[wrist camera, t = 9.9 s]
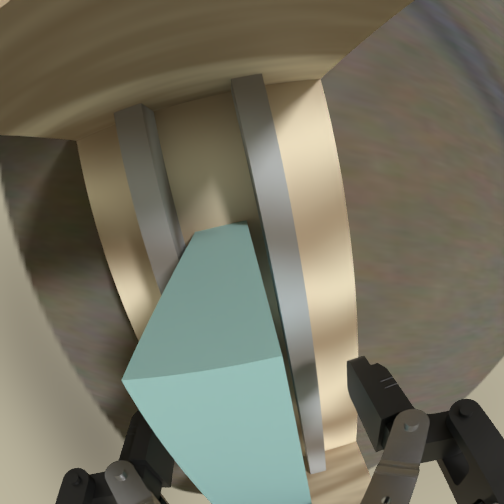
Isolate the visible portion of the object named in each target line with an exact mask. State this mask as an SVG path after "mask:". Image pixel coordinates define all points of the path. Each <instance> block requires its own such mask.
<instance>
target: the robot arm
mask: <svg viewBox="0 0 504 504" xmlns="http://www.w3.org/2000/svg"><path fill="white" fill-rule="evenodd" d="M347 388H348V392H349V396H350V398H351V400H352V402H353V405H354V407H355V409H356V411H357V413H358V415H359V417H360V419H361V421H362V424H363V426H364V428H365V430H366V432H367V434H368V436H369V439H370V441H371V443H372V445H373V447H374V449H375V451H376V452H378V451H380V450H384V452H383V455H382V457H381V460H380V462H379V464H378V465H377V467H376V469H375V472H374V474H373V476H372V479H371V481H370V483H369V486H368V488H367V490H366V492H365V494H364V497H363V499H362V501H361V503H360V504H409V502H410V499H411V496H412V493H413V490H414V487H415V484H416V481H417V478H418V474H419V466H420V463H423V462H429V461H434V460H437V462H438V464H439V466H440V468H441V470H442V472H443V474H444V477H445V479H446V481H447V483H448V485H449V487H450V489H451V491H452V493H453V495H454V498H455V500H456V502H457V504H504V439H503V437H502V436H501V434H500V433H499V431H498V430H497V429H496V427H495V426H494V424H493V423H492V422H491V420H490V419H489V417H488V416H487V415H486V414H485V412H484V411H483V409H482V408H481V407H480V405H479V404H478V403H477V402H475V401H474V400H471V399H462V400H459V401H457V402H455V403H454V404H453V405H452V406H451V408H450V411H446V412H441V413H436V414H426V413H425V412H423V411H421V410H418V409H415V408H414V407H413V406H412V404H411V403H410V401H409V400H408V398H407V397H406V396H405V394H404V393H403V391H402V390H401V388H400V387H399V385H398V384H397V382H396V381H395V380H394V378H393V377H392V375H391V374H390V372H389V371H388V369H387V368H385V367H383V366H382V365H380V364H378V363H376V364H373V365H370V364H369V362H368V361H367V359H366V358H365V356H361V357H358V358H355V359H351V360H348V361H347ZM129 427H130V428H129V429H128V432H127V435H126V438H125V441H124V445H123V448H122V451H121V455H120V458H119V461H116V462H113V463H112V464H110V465H109V466H108V467H107V469H106V471H105V472H101V473H96V474H91V475H89V474H88V473H87V472H86V471H85V470H83V469H81V468H74V469H71V470H70V471H68V472H67V473H66V474H65V476H64V478H63V481H62V484H61V487H60V490H59V494H58V497H57V501H56V504H169V503H168V502H167V501H166V499H165V498H164V497H163V495H162V494H161V488H162V487H171V481H172V473H173V466H174V459H173V457H172V456H171V455H170V454H169V452H168V451H167V450H166V448H165V447H164V445H163V444H162V443H161V441H160V440H159V439H158V437H157V436H156V434H155V433H154V431H153V430H152V429H151V427H150V426H149V424H148V423H147V421H146V420H145V418H144V417H143V415H142V414H141V412H140V410H139V409H138V411H137V412H136V413H135V414H134V416H133V417H132V419H131V422H130V425H129Z"/></svg>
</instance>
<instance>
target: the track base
mask: <svg viewBox="0 0 504 504" xmlns="http://www.w3.org/2000/svg"><path fill="white" fill-rule="evenodd" d="M413 1H414V0H0V135H11V136H28V137H42V138H54V139H64V140H74V141H77V146H78V152H79V157H80V162H81V167H82V171H83V176H84V180H85V185H86V189H87V193H88V197H89V201H90V205H91V209H92V212H93V216H94V220H95V223H96V227H97V230H98V234H99V237H100V240H101V243H102V247H103V250H104V253H105V256H106V259H107V262H108V265H109V268H110V271H111V273H112V276H113V279H114V282H115V284H116V287H117V290H118V292H119V295H120V298H121V300H122V303H123V305H124V308H125V310H126V313H127V315H128V318H129V320H130V322H131V325H132V327H133V329H134V332H135V334H136V336H137V338H138V341H140V338H141V336H142V334H143V332H144V330H145V328H146V326H147V324H148V322H149V320H150V318H151V316H152V314H153V312H154V310H155V308H156V306H157V304H158V302H159V300H160V298H161V296H162V294H163V292H164V290H165V288H166V286H167V284H168V282H169V280H170V278H171V276H172V274H173V272H174V270H175V268H176V267H177V265H178V263H179V261H180V259H181V257H182V255H183V253H184V252H185V250H186V248H187V246H188V244H189V242H190V241H191V239H192V237H193V235H194V233H195V232H197V231H202V230H206V229H210V228H214V227H219V226H223V225H227V224H232V223H236V222H241V221H245V220H246V221H247V225H248V228H249V232H250V236H251V240H252V243H253V247H254V251H255V255H256V258H257V262H258V266H259V270H260V273H261V277H262V281H263V285H264V288H265V292H266V296H267V300H268V303H269V307H270V311H271V315H272V319H273V322H274V326H275V330H276V334H277V338H278V341H279V345H280V349H281V353H282V357H283V362H284V366H285V371H286V376H287V381H288V386H289V391H290V396H291V401H292V406H293V411H294V416H295V421H296V426H297V431H298V436H299V441H300V446H301V451H302V456H303V461H304V466H305V471H306V476H307V481H308V486H309V491H310V497H311V502H312V504H360V503H361V501H362V499H363V497H364V494H365V492H366V490H367V488H368V486H369V483H370V481H371V476H370V474H369V472H368V469H367V467H366V464H365V462H364V459H363V457H362V455H361V452H360V450H359V447H358V445H357V443H356V433H357V411H356V409H355V407H354V405H353V402H352V400H351V398H350V396H349V392H348V388H347V361H348V360H351V359H355V358H358V331H357V309H356V293H355V280H354V269H353V258H352V248H351V239H350V231H349V223H348V216H347V208H346V202H345V195H344V189H343V182H342V177H341V171H340V165H339V160H338V154H337V149H336V144H335V139H334V134H333V130H332V125H331V120H330V116H329V112H328V107H327V103H326V99H325V95H324V91H323V87H322V83H321V78H322V77H323V76H324V75H325V74H326V73H327V72H328V71H329V70H331V69H332V68H333V67H334V66H335V65H336V64H337V63H338V62H339V61H341V60H342V59H343V58H344V57H345V56H346V55H347V54H348V53H350V52H351V51H352V50H353V49H354V48H355V47H357V46H358V45H359V44H360V43H361V42H362V41H364V40H365V39H366V38H367V37H368V36H370V35H371V34H372V33H373V32H374V31H376V30H377V29H378V28H379V27H381V26H382V25H383V24H384V23H386V22H387V21H388V20H389V19H391V18H392V17H393V16H394V15H396V14H397V13H398V12H400V11H401V10H402V9H403V8H405V7H406V6H407V5H409V4H410V3H411V2H413ZM211 504H212V503H211Z"/></svg>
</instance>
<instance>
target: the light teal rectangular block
mask: <svg viewBox="0 0 504 504" xmlns="http://www.w3.org/2000/svg"><path fill="white" fill-rule="evenodd" d="M121 381H122V382H123V384H124V386H125V388H126V389H127V391H128V393H129V394H130V396H131V398H132V399H133V401H134V402H135V404H136V406H137V407H138V409H139V410H140V412H141V414H142V415H143V417H144V418H145V420H146V421H147V423H148V424H149V426H150V427H151V429H152V430H153V431H154V433H155V434H156V436H157V437H158V439H159V440H160V441H161V443H162V444H163V445H164V447H165V448H166V450H167V451H168V452H169V454H170V455H171V456H172V457H173V459H174V460H175V461H176V463H177V464H178V465H179V466H180V468H181V469H182V470H183V471H184V473H185V474H186V475H187V476H188V477H189V479H190V480H191V481H192V482H193V483H194V484H195V486H196V487H197V488H198V489H199V490H200V491H201V492H202V494H203V495H204V496H205V497H206V498H207V499H208V500H209V501H210V502H211V503H212V504H312V502H311V497H310V491H309V486H308V481H307V476H306V471H305V466H304V461H303V456H302V451H301V446H300V441H299V436H298V431H297V426H296V421H295V416H294V411H293V406H292V401H291V396H290V391H289V386H288V381H287V376H286V371H285V366H284V362H283V357H282V353H281V349H280V345H279V341H278V338H277V334H276V330H275V326H274V322H273V319H272V315H271V311H270V307H269V303H268V300H267V296H266V292H265V288H264V285H263V281H262V277H261V273H260V270H259V266H258V262H257V258H256V255H255V251H254V247H253V243H252V240H251V236H250V232H249V228H248V225H247V221H246V220H245V221H241V222H236V223H232V224H227V225H223V226H219V227H214V228H210V229H206V230H202V231H197V232H195V233H194V235H193V237H192V239H191V241H190V242H189V244H188V246H187V248H186V250H185V252H184V253H183V255H182V257H181V259H180V261H179V263H178V265H177V267H176V268H175V270H174V272H173V274H172V276H171V278H170V280H169V282H168V284H167V286H166V288H165V290H164V292H163V294H162V296H161V298H160V300H159V302H158V304H157V306H156V308H155V310H154V312H153V314H152V316H151V318H150V320H149V322H148V324H147V326H146V328H145V330H144V332H143V334H142V336H141V338H140V341H139V343H138V345H137V347H136V349H135V351H134V353H133V356H132V358H131V360H130V362H129V364H128V367H127V369H126V371H125V373H124V375H123V378H122V380H121Z"/></svg>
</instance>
